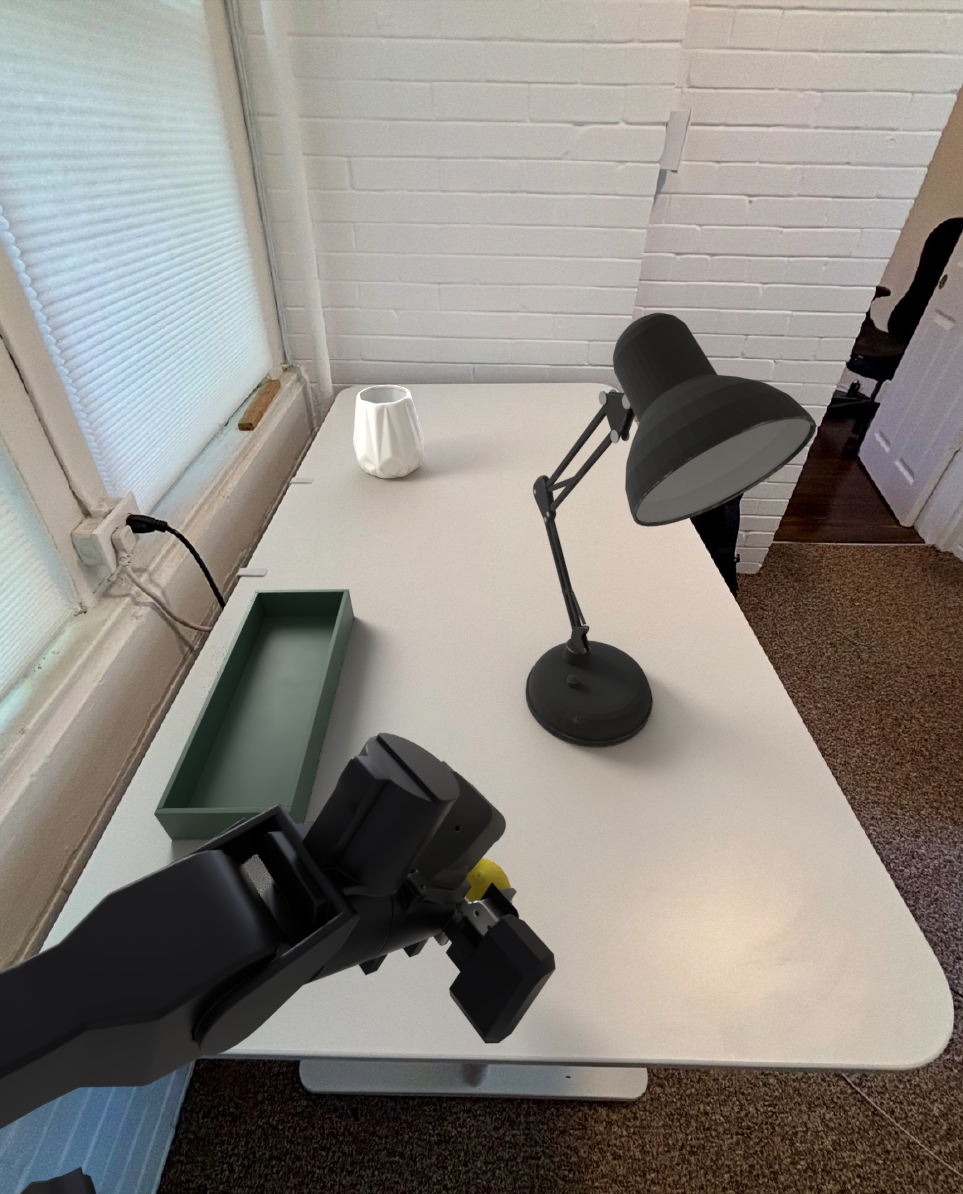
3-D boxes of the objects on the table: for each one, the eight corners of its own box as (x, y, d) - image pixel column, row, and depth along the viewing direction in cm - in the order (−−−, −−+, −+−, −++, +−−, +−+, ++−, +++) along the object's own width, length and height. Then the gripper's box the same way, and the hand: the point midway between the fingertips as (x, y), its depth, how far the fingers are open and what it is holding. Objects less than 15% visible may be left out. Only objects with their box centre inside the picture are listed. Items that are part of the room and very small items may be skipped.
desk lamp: (677, 824, 61) (850, 395, 32) (453, 740, 69) (429, 338, 40) (710, 666, 78) (842, 293, 49) (527, 613, 86) (547, 267, 57)
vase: (358, 486, 115) (346, 411, 106) (355, 454, 126) (345, 383, 116) (430, 479, 117) (424, 405, 108) (421, 448, 128) (416, 378, 118)
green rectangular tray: (300, 838, 60) (290, 812, 57) (171, 840, 60) (153, 814, 57) (354, 615, 86) (348, 588, 83) (263, 616, 86) (255, 589, 83)
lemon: (487, 968, 48) (488, 927, 43) (433, 927, 50) (428, 884, 45) (522, 909, 51) (527, 865, 46) (470, 874, 54) (469, 828, 49)
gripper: (545, 923, 29) (642, 878, 41) (341, 702, 39) (468, 720, 52) (426, 1101, 30) (557, 1003, 42) (258, 837, 40) (403, 822, 53)
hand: (491, 872), depth 47 cm, fingers closed on lemon, 4 cm apart
